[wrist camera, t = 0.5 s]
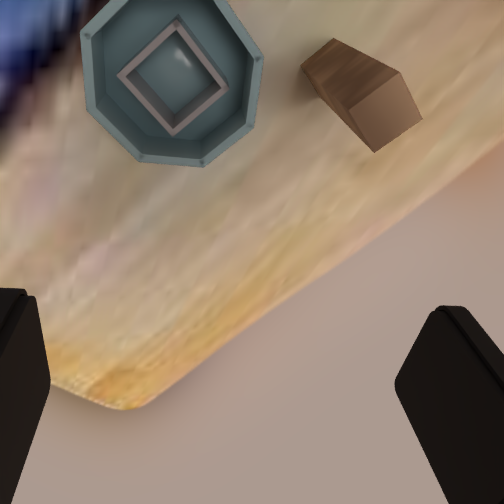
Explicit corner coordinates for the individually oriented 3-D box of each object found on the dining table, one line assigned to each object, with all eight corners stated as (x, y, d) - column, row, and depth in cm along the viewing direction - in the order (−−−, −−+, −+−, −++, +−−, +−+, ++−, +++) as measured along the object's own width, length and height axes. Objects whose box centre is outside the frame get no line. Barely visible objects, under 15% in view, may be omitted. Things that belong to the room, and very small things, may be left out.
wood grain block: (333, 38, 30) (399, 72, 20) (352, 72, 32) (422, 118, 22) (300, 65, 31) (348, 110, 21) (320, 97, 33) (374, 152, 23)
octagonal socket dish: (181, -65, 26) (179, -70, 22) (280, 82, 32) (291, 98, 28) (62, 55, 29) (43, 68, 25) (173, 169, 35) (170, 193, 31)
